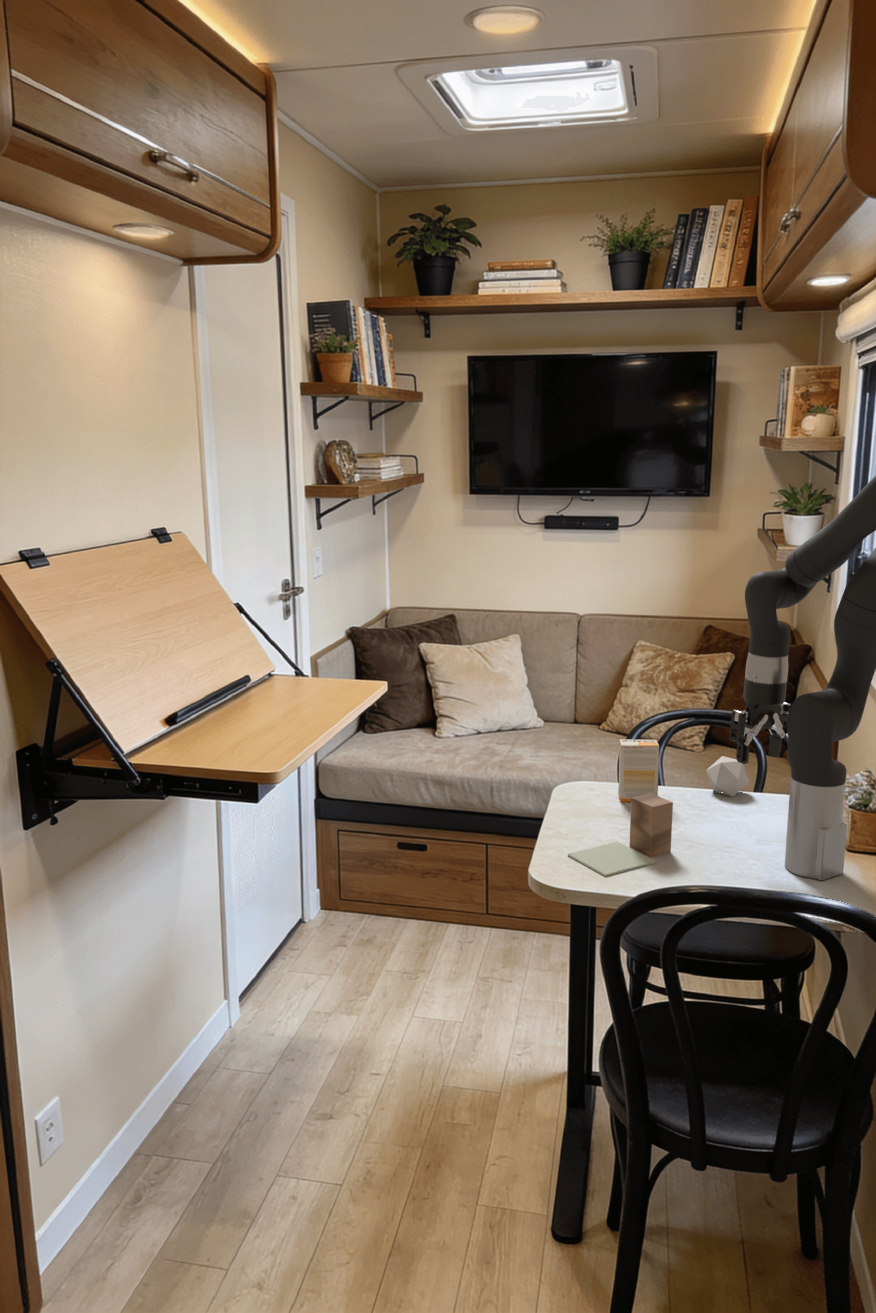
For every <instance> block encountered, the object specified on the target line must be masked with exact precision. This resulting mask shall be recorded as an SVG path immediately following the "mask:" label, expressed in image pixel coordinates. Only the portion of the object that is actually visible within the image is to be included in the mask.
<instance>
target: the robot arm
mask: <svg viewBox="0 0 876 1313" xmlns="http://www.w3.org/2000/svg"><path fill="white" fill-rule="evenodd" d="M874 532H876V474H875V475H874V476H873V477H872V478H871V479H870V480H869V481H868V483H867V484H866V485H865V486H864V487H863V488H862V489H861V490H860V491H859V493H858V494H857V495H856V496H855V497H854V498H853V499H851V501H850V502H849V503H848V504H847V505H846V506H845V507H844V508H843V509H842V510H841V512H839V513H838V514H837V515H836V516H835V517H834V518H833V519H832V520H831V521H830V522H828V523H827V524H826V525H825V526H824V527H823V528H822V529H820V530H818V532H816V533H815V534H813V535H811V537H809V538H808V539H807V540H806V541H804V542H803V543H802V544H801V545H799V546H798V547H796V548H795V549H794V550H793V551H792V552H790V553H789V555H788V556H787V558H786V560H785V562H784V563H785V567H783V568H781V569H779V570H777V569H776V570H769V571H768V570H767V571H766V570H765V571H760V572H757V573H756V572H755V574H753V575H752V576H751V577H750V578H749V580H748V581H747V584H746V586H745V590H744V603H745V608H746V614H747V619H748V625H749V629H750V634H749V643H748V653H747V658H746V664H745V675H744V683H743V684H744V685H743V693H742V694H743V695H742V696H743V699H744V701H745V704H746V705H745V708H744V710H738V709H733V710H732V712H731V718H730V726H729V733H728V734H729V736H728V741H729V740H730V741H731V742H735V743H736V752H735V753H736V754H735V757H736V758H735V759H736V760H737V761H738V762H740V763H742V764H743V765H747V764H748V763H749V758H750V756H749V755H750V748H751V747H750V746H751V745H750V743H751V742H752V740H753V739H754V737H756V736H758V734H759V733H760V732H763V731H764V730H768V731H769V733H770V736H769V741H768V742H769V745H768V751H767V752H768V755H769V756H771V757H774V758H778V757H781V752H782V744H783V739H784V738H785V736H786V735H787V758H788V759H787V760H788V763H789V766H790V783H789V795H788V796H789V798H788V799H789V800H788V808H787V810H788V812H787V825H786V826H787V827H786V840H785V854H784V856H785V857H784V867H785V869H787V870H788V871H789V872H791V873H792V874H795V875H797V876H801V877H805V878H809V879H815V880H818V881H824V880H828V879H830V878H833V877H834V878H835V877H836V876H840V875H843V874H844V867H845V866H844V865H845V855H846V843H847V834H848V832H847V831H848V825H847V823H845V822H843V816H844V804H845V803H844V802H845V796H846V794H845V793H846V791H845V790H846V782H847V768H846V765H845V764H843V763H842V762H841V761H839V760H835V759H834V758H833V743H834V742H838V741H843V740H845V739H848V738H849V737H851V736H852V735H853V734H854V733H856V731H858V730H857V729H858V727H859V726H860V723H861V722H862V719H863V718H862V717H863V715H864V711H865V708H866V703H867V699H868V697H869V693H870V688H871V685H872V681H873V678H874V676H875V673H876V547H875V548H873V551H872V552H871V553H870V554H869V555H868V557H866V559H865V560H864V561H863V562H862V563H861V564H860V565H859V567H858V568H857V570H855V572H854V573H853V574H852V576H851V577H850V578H849V581H847V584H846V586H845V588H844V589H843V592H842V596H841V599H840V601H839V604H838V607H837V609H836V612H835V615H834V621H833V632H834V639H835V640H834V641H835V645H836V652H837V654H836V656H837V657H836V662H835V665H834V668H833V672H832V674H831V676H830V678H829V681H828V683H827V684H826V686H825V688H824V689H823V690H818V691H813V692H807V693H803V694H801V695H799V696H797V697H796V698H795V699H794V700H793V702H792V703H789V702H786V696H787V694H786V693H787V687H788V686H787V685H788V673H789V649H790V641H791V640H790V639H791V629H790V627H789V625H788V624H787V623H785V622H783V621H779V619H778V614H777V610H779V609H788V608H790V607H793V606H795V605H797V604H799V603H800V602H801V601H803V600H804V599H805V597H807V596H808V594H810V592H812V590H814V587H816V585H817V584H818V583H819V582H821V581H822V580H824V579H825V578H827V577H828V576H829V575H831V574H832V573H833V572H835V571H836V570H838V569H839V568H840V567H842V566H843V565H844V564H845V563H847V561H848V560H850V558H851V557H852V556H853V554H854V552H855V551H856V549H857V548H858V546H859V545H860V544H861V543H862V542H863V541H864V540H865V539H866V538H867V537H868V536H870V535H871V534H873V533H874ZM749 727H750V728H749ZM736 734H737V735H736ZM746 734H747V735H746ZM745 735H746V737H745Z"/></svg>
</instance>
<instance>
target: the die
mask: <svg viewBox="0 0 876 1313" xmlns="http://www.w3.org/2000/svg"><path fill="white" fill-rule="evenodd" d="M705 772H706V774H707V777H708V781H709V783H710V786H711V789H712V791H713V792H714V791H715V792H714V793H717V792H720V793H719V794H720V795H726V796H727V797H728V796H729V797H732V798H734V797H735V796H736V795H737V794H738V793H739V792H741V791H742V790H743V789H744V788H745V787H746V786H747V785H749V783H750V779H749V776H748V773H747V771H746V767H745V764H742V763H740V762H738V761H737V759H736V758H731V757H728V756H724V755H722V756H721V757H719V758H718V759H717V760H716V761H714V763H712V765H710V766H709V767H708V768H707V769H706V771H705ZM721 792H723V793H721ZM736 793H737V794H736Z"/></svg>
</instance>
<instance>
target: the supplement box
mask: <svg viewBox="0 0 876 1313" xmlns="http://www.w3.org/2000/svg"><path fill="white" fill-rule="evenodd" d="M618 748H619V750H618V751H619V752H618V754H619V755H618V756H619V757H618V790H617V791H618V792H617V793H618V797H619V801H620V802H621V803H622V802H623V803H624V802H627V803H631V798H632V797H637V796H641V795H645V794H650V793H652V794H654V795H657V796H659V794H658V793H659V769H660V768H659V767H660V764H659V763H660V762H659V761H660V744H659V743H658V740H657V739H632V738H631V739H629V738H628V739H627V738H621V739H619V747H618Z"/></svg>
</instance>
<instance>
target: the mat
mask: <svg viewBox="0 0 876 1313" xmlns="http://www.w3.org/2000/svg"><path fill="white" fill-rule="evenodd" d="M567 857H570V859H571V858H572V859H573V860H575V861H576V862H578V863H580V864H582V865H584V866H586V868H589V869H590V870H593V871H594V872H596V873H598V874H600V875H601V876H603V877H605V878H606V877H608V876H609V877H610V876H613V875H617V874H620V873H624V872H628V871H631V870H635V869H639V868H643V867H646V866H650V865H653V864H656V863H657V861H656V860H655V859H653V858H652V857H649V856H647V855H645V854H643V853H641V852H639V851H637V850H635V849H633V848H631V847H630V846H627V845H625V844H623V843H621V842H619V841H614V842H609V843H606V844H601V845H597V846H594V847H590V848H589V847H588V848H585V849H581V850H577V851H573V852H569V853H567Z"/></svg>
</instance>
